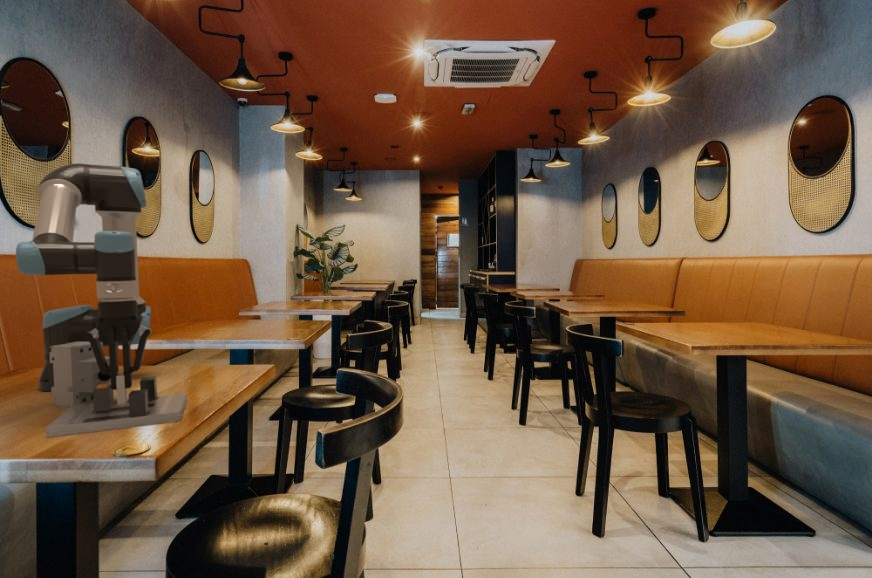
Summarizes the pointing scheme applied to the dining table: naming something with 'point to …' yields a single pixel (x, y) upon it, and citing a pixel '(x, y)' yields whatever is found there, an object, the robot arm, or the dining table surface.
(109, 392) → the toggle
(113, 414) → the breaker panel
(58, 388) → the circuit breaker
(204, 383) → the dining table surface
